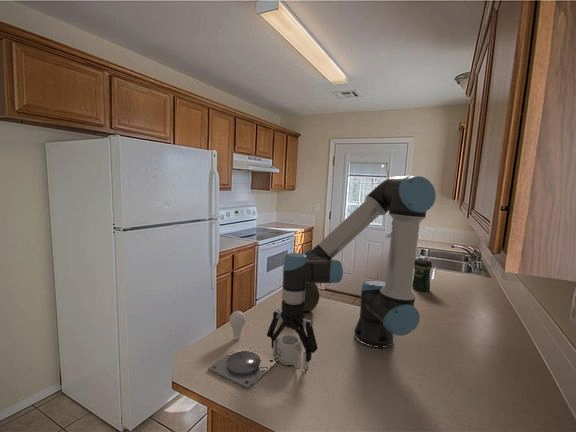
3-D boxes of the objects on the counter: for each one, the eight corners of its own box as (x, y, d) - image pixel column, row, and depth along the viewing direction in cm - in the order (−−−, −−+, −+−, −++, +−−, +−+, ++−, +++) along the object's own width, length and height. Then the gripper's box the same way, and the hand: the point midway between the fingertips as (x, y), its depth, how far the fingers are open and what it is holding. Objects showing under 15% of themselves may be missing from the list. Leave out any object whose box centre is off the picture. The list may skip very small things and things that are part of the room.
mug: (272, 357, 102) (272, 336, 101) (293, 352, 106) (294, 331, 105) (288, 378, 92) (289, 354, 91) (311, 371, 96) (312, 348, 95)
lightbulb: (227, 336, 115) (228, 309, 114) (242, 333, 117) (243, 307, 116) (230, 344, 109) (231, 316, 108) (246, 341, 112) (247, 313, 111)
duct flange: (277, 362, 99) (277, 357, 99) (247, 389, 86) (247, 383, 85) (240, 347, 107) (240, 342, 107) (207, 370, 94) (208, 364, 93)
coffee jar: (431, 290, 178) (434, 260, 176) (424, 292, 174) (427, 262, 172) (417, 285, 186) (419, 257, 184) (409, 287, 182) (412, 258, 180)
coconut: (325, 312, 140) (326, 282, 139) (301, 319, 132) (303, 287, 131) (306, 302, 152) (308, 274, 150) (284, 307, 144) (285, 278, 142)
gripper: (330, 305, 94) (326, 369, 96) (270, 289, 106) (267, 347, 108) (321, 313, 88) (316, 382, 90) (257, 295, 99) (255, 357, 102)
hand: (290, 363), depth 99 cm, fingers open, 11 cm apart
